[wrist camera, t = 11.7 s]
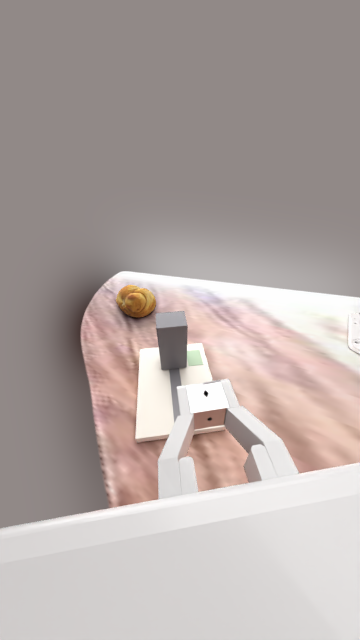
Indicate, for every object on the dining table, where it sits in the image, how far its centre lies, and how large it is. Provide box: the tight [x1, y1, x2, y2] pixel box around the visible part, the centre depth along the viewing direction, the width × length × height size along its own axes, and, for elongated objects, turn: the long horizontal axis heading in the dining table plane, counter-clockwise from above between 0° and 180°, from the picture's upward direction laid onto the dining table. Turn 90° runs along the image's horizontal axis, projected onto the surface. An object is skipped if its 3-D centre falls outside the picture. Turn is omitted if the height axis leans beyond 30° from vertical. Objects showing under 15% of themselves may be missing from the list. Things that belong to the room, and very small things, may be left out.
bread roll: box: [116, 285, 156, 318], centre depth 54 cm, size 13×10×8 cm
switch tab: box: [156, 311, 187, 370], centre depth 35 cm, size 4×5×11 cm
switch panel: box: [135, 343, 226, 443], centre depth 36 cm, size 18×14×2 cm
